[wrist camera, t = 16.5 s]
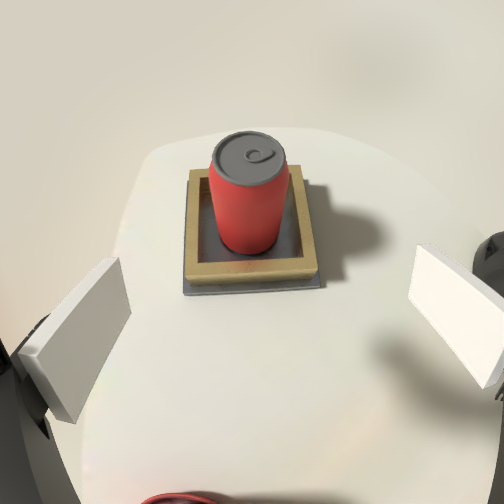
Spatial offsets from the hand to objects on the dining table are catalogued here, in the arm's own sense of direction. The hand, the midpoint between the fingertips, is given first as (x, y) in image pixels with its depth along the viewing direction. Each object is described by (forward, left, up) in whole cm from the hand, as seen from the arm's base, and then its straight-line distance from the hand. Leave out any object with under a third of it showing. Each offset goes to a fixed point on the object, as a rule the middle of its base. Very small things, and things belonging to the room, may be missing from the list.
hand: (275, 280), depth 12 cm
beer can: (0, -12, -18) cm, 21 cm away
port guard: (+1, -12, -18) cm, 22 cm away
